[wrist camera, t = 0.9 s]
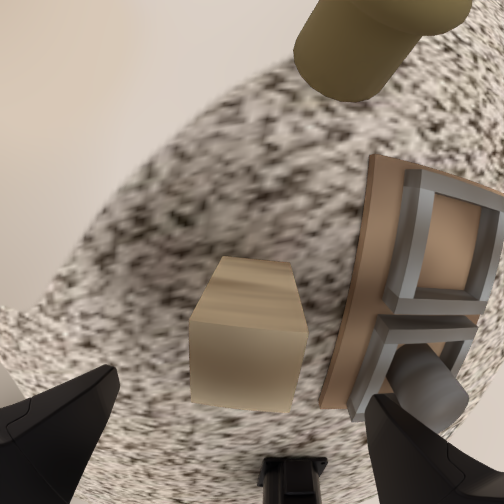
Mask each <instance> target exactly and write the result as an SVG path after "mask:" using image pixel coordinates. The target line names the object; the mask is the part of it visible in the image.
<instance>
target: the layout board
mask: <svg viewBox="0 0 504 504" xmlns="http://www.w3.org/2000/svg"><path fill="white" fill-rule="evenodd" d="M503 241H504V193H501V192H499V191H496V190H494V189H491V188H489V187H486V186H483V185H481V184H478V183H475V182H473V181H470V180H467V179H464V178H461V177H458V176H455V175H452V174H449V173H446V172H443V171H439V170H436V169H433V168H429V167H426V166H422V165H419V164H415V163H411V162H408V161H404V160H400V159H396V158H392V157H387V156H383V155H379V154H372V155H370V156H369V167H368V177H367V186H366V194H365V202H364V209H363V216H362V223H361V229H360V236H359V241H358V247H357V253H356V258H355V264H354V269H353V274H352V279H351V283H350V288H349V292H348V297H347V301H346V306H345V310H344V314H343V318H342V322H341V326H340V330H339V334H338V337H337V341H336V345H335V348H334V352H333V355H332V359H331V362H330V366H329V369H328V372H327V375H326V379H325V382H324V385H323V388H322V391H321V394H320V397H319V400H318V401H319V406H320V409H346V408H348V412H349V415H350V418H351V422H363V421H365V417H364V412H365V409H366V407H367V404H368V402H369V400H370V398H371V396H372V395H373V394H385V395H386V396H387V397H389V398H390V399H391V400H393V401H394V402H395V403H397V404H398V405H399V406H400V407H402V408H403V409H404V410H406V411H407V412H408V413H410V414H411V415H412V416H414V417H415V418H416V419H418V420H419V421H420V422H422V423H423V424H424V425H426V426H427V427H428V428H430V429H431V430H432V431H434V432H435V433H437V434H438V433H440V432H442V431H443V430H445V429H446V428H448V427H449V426H450V425H452V424H453V423H454V422H455V421H456V420H457V419H458V418H459V417H460V416H461V414H462V413H463V412H464V410H465V408H466V406H467V404H468V401H469V395H468V394H467V392H466V391H465V390H464V388H463V387H462V386H461V384H460V383H459V382H458V381H457V379H456V376H457V374H458V372H459V370H460V368H461V366H462V364H463V362H464V360H465V358H466V355H467V353H468V351H469V349H470V347H471V344H472V342H473V340H474V337H475V335H476V332H477V330H478V326H477V325H476V324H477V321H478V319H479V316H480V314H484V311H485V308H486V305H487V302H488V299H489V296H490V293H491V290H492V286H493V283H494V279H495V276H496V272H497V268H498V264H499V260H500V255H501V251H502V246H503Z"/></svg>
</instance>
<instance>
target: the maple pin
mask: <svg viewBox="0 0 504 504" xmlns="http://www.w3.org/2000/svg"><path fill="white" fill-rule="evenodd" d="M308 335H309V331H308V327H307V323H306V320H305V316H304V312H303V308H302V305H301V301H300V297H299V293H298V290H297V286H296V283H295V279H294V275H293V272H292V268H291V265H290V263H287V262H277V261H268V260H258V259H248V258H238V257H229V256H223V257H222V258H221V260H220V262H219V264H218V266H217V268H216V270H215V271H214V273H213V275H212V277H211V279H210V281H209V283H208V285H207V286H206V288H205V290H204V292H203V294H202V296H201V298H200V300H199V302H198V303H197V305H196V307H195V309H194V311H193V313H192V315H191V317H190V319H189V363H190V389H191V402H192V403H198V404H204V405H210V406H217V407H225V408H233V409H242V410H252V411H265V412H281V413H289V412H290V408H291V405H292V401H293V397H294V393H295V389H296V386H297V382H298V378H299V374H300V370H301V365H302V361H303V357H304V353H305V348H306V344H307V339H308Z"/></svg>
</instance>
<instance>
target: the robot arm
mask: <svg viewBox="0 0 504 504" xmlns="http://www.w3.org/2000/svg"><path fill="white" fill-rule="evenodd" d="M119 389H120V382H119V377H118V373H117V369H116V368H115V367H114V366H111V365H107V364H105V365H102V366H100V367H98V368H96V369H94V370H91V371H89V372H87V373H85V374H83V375H81V376H78V377H76V378H74V379H72V380H69V381H67V382H65V383H63V384H60V385H58V386H56V387H54V388H51V389H49V390H47V391H44V392H42V393H40V394H37V395H35V396H33V397H32V398H28V399H25V400H23V401H21V402H18V403H15V404H13V405H9V406H6V407H3V408H0V504H70V501H71V499H72V497H73V495H74V492H75V490H76V488H77V485H78V483H79V481H80V479H81V476H82V474H83V472H84V470H85V468H86V466H87V463H88V461H89V459H90V457H91V455H92V453H93V451H94V449H95V447H96V444H97V442H98V440H99V438H100V436H101V434H102V432H103V430H104V428H105V426H106V424H107V422H108V419H109V417H110V414H111V411H112V408H113V405H114V403H115V400H116V397H117V395H118V392H119ZM364 417H365V425H366V434H367V443H368V450H369V455H370V459H371V464H372V468H373V473H374V477H375V482H376V487H377V492H378V497H379V502H380V504H504V472H499V471H496V470H494V469H492V468H490V467H488V466H486V465H485V464H483V463H481V462H479V461H477V460H475V459H473V458H472V457H470V456H468V455H467V454H465V453H463V452H462V451H460V450H459V449H457V448H456V447H455V446H453V445H452V444H450V443H449V442H448V443H447V441H446V440H445V439H443V438H442V437H441V436H439V435H438V434H437V433H435V432H434V431H432V430H431V429H430V428H428V427H427V426H426V425H424V424H423V423H422V422H420V421H419V420H418V419H416V418H415V417H414V416H412V415H411V414H410V413H408V412H407V411H406V410H404V409H403V408H402V407H400V406H399V405H398V404H397V403H395V402H394V401H393V400H391V399H390V398H389V397H387V396H386V395H385V394H373V395H372V396H371V398H370V400H369V402H368V404H367V407H366V409H365V412H364ZM327 464H328V460H327V458H312V459H281V458H266V459H264V460H263V463H262V467H261V471H260V474H259V478H258V481H257V486H259V487H263V504H322V500H321V492H320V484H319V477H320V475H321V474H322V472H323V470H324V469H325V467H326V465H327Z"/></svg>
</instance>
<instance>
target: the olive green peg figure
mask: <svg viewBox="0 0 504 504" xmlns="http://www.w3.org/2000/svg"><path fill="white" fill-rule="evenodd" d="M471 7H472V0H319V2H318V3H317V5H316V7H315V8H314V10H313V12H312V13H311V15H310V17H309V18H308V20H307V22H306V23H305V25H304V27H303V29H302V30H301V32H300V34H299V35H298V37H297V39H296V42H295V46H294V49H293V53H294V62H295V65H296V67H297V69H298V71H299V73H300V75H301V76H302V78H303V79H304V80H305V81H306V82H307V83H308V84H309V85H310V86H311V87H312V88H313V89H315V90H317V91H318V92H320V93H321V94H323V95H324V96H326V97H329V98H332V99H335V100H338V101H341V102H360V101H364V100H368V99H370V98H371V97H373V96H374V95H376V94H377V93H379V92H380V90H381V89H382V88H383V87H384V85H385V84H386V83H387V81H388V80H389V79H390V77H391V76H392V75H393V74H394V72H395V71H396V70H397V68H398V67H399V66H400V65H401V63H402V62H403V61H404V59H405V58H406V57H407V55H408V54H409V53H410V52H411V50H412V49H413V48H414V46H415V45H416V44H417V42H418V41H419V40H420V39H421V37H422V36H435V35H439V34H444V33H446V32H448V31H450V30H452V29H454V28H456V27H457V26H459V25H460V24H462V23H463V22H464V21H465V19H466V18H467V16H468V14H469V12H470V9H471Z"/></svg>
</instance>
